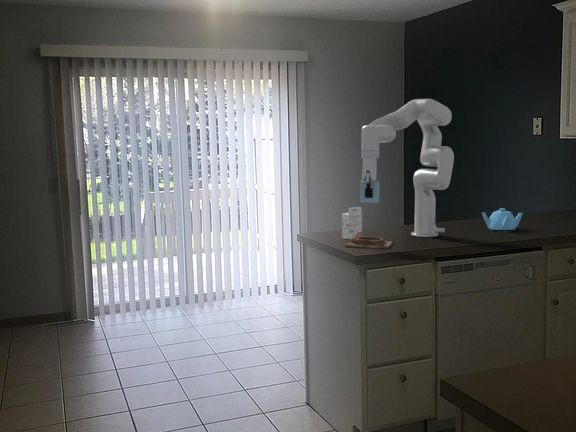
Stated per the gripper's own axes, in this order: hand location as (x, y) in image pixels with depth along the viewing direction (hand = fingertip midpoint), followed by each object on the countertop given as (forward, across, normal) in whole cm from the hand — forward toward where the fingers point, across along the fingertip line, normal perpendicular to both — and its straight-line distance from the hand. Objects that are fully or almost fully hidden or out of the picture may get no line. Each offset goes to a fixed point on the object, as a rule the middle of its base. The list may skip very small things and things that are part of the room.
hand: (369, 196), depth 274 cm
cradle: (+21, 0, 0) cm, 21 cm away
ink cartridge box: (+21, -18, -11) cm, 30 cm away
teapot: (+21, -62, +57) cm, 87 cm away
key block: (+2, 0, 0) cm, 2 cm away
